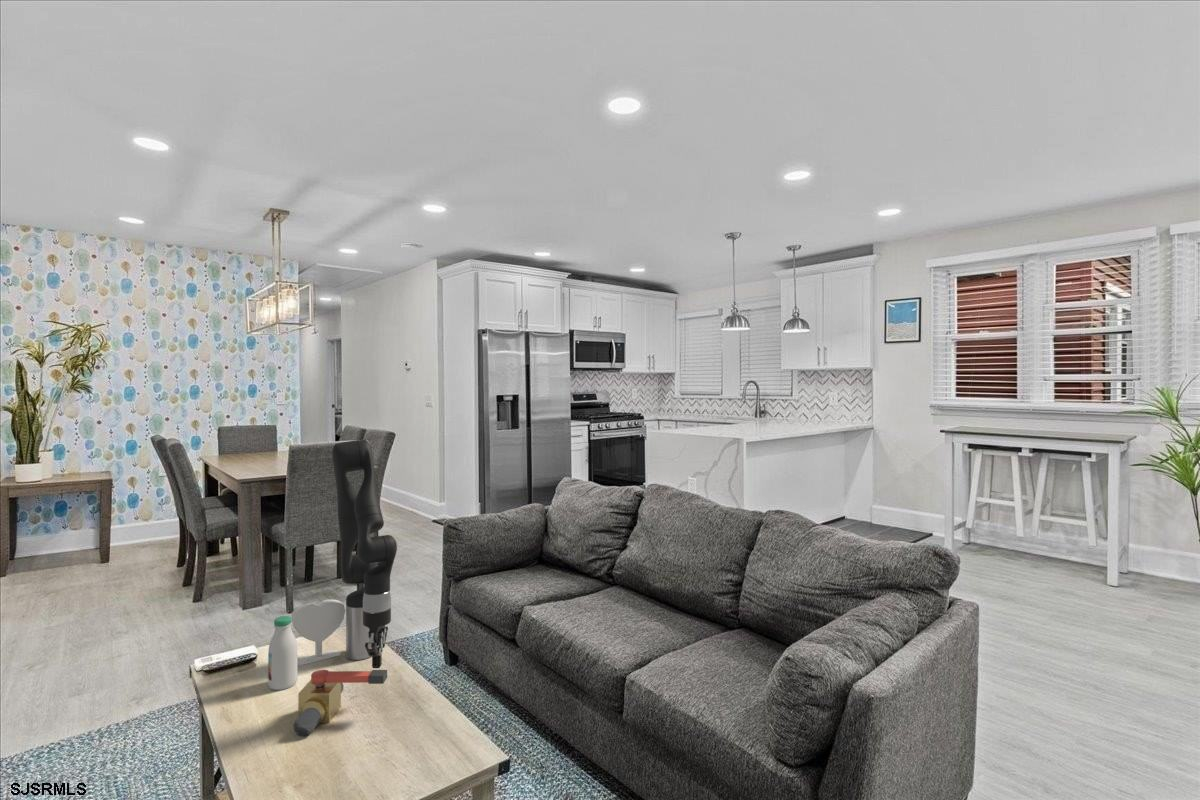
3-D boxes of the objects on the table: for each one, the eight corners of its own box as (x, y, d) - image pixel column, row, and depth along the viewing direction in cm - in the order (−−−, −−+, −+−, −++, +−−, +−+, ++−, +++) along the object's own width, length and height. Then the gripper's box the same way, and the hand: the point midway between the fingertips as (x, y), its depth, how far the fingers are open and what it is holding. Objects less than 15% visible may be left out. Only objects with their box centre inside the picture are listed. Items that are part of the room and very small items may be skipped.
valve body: (320, 696, 175) (320, 665, 175) (348, 695, 175) (348, 665, 175) (287, 736, 155) (287, 701, 155) (319, 735, 155) (319, 701, 155)
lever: (308, 685, 163) (308, 677, 163) (315, 677, 167) (315, 669, 167) (382, 684, 163) (382, 676, 163) (387, 676, 168) (387, 668, 168)
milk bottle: (302, 678, 185) (302, 614, 184) (287, 691, 177) (287, 624, 177) (278, 677, 186) (278, 612, 185) (262, 690, 178) (262, 622, 177)
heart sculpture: (341, 648, 206) (341, 596, 206) (345, 653, 202) (345, 600, 202) (291, 660, 197) (291, 605, 196) (294, 666, 193) (294, 610, 192)
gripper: (371, 598, 178) (371, 656, 179) (355, 615, 165) (354, 678, 166) (397, 598, 179) (397, 656, 179) (382, 615, 165) (382, 678, 166)
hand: (376, 667), depth 172 cm, fingers closed
